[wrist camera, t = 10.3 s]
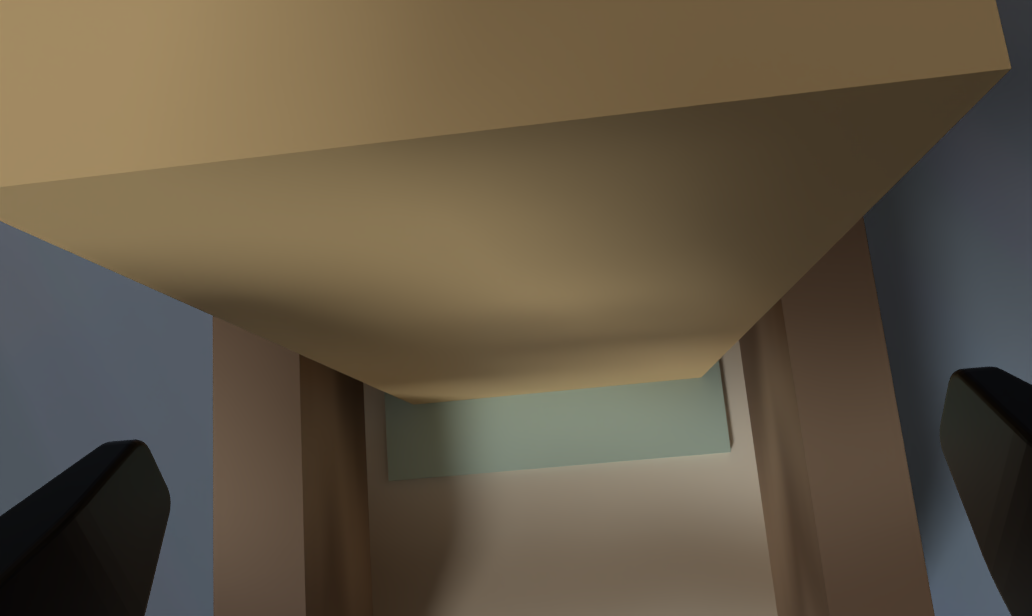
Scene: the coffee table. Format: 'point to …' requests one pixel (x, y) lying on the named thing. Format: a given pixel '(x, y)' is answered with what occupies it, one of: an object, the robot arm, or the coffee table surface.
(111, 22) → the pillar
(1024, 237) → the coffee table surface
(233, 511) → the brown open-ended tray
